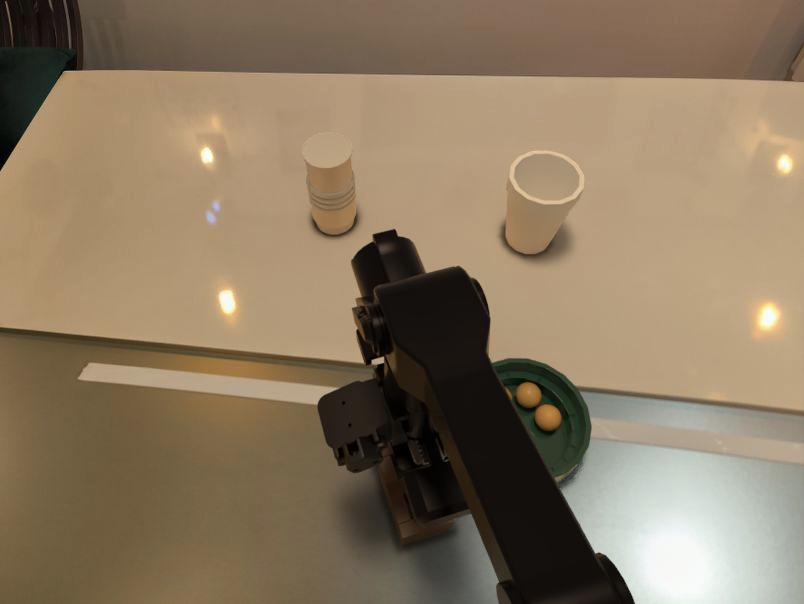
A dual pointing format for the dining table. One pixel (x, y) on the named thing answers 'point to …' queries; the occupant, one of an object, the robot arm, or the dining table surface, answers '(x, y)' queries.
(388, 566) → the dining table surface
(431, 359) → the robot arm
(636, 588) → the dining table surface
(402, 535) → the rack
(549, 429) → the bead
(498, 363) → the bowl
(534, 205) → the foam cup
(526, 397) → the bead
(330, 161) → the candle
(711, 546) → the dining table surface
